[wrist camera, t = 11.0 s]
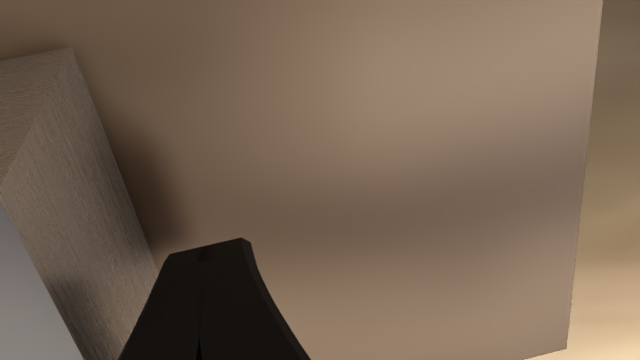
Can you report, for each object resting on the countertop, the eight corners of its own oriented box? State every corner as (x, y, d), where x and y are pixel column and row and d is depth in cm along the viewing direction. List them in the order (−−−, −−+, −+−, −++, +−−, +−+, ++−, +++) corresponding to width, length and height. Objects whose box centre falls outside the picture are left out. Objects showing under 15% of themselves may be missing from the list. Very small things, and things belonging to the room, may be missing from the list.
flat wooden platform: (534, 303, 15) (634, 444, 12) (-314, 517, 13) (-483, 751, 10) (566, -221, 9) (785, -243, 6) (-929, 47, 8) (-1834, 228, 4)
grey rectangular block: (201, 384, 12) (206, 593, 9) (48, 422, 12) (-6, 652, 8) (71, 46, 8) (-3, 193, 5) (-158, 92, 8) (-394, 278, 5)
